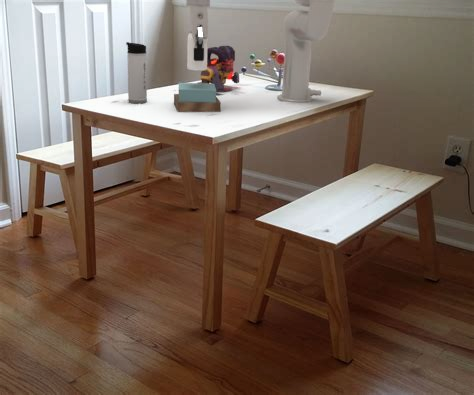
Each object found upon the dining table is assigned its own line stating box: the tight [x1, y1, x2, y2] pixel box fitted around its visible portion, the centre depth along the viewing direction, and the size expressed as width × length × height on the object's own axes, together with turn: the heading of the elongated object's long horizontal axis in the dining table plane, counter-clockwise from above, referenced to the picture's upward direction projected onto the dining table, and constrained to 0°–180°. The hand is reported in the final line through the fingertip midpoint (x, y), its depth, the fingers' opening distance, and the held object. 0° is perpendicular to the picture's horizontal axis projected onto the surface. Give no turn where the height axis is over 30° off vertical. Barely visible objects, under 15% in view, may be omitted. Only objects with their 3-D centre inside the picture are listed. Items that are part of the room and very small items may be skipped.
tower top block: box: [178, 82, 217, 103], centre depth 209 cm, size 12×12×4 cm
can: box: [186, 31, 209, 72], centre depth 204 cm, size 6×6×12 cm
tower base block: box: [173, 93, 222, 113], centre depth 211 cm, size 14×14×4 cm
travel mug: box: [125, 41, 148, 105], centre depth 213 cm, size 6×7×20 cm
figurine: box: [197, 45, 240, 93], centre depth 239 cm, size 20×14×17 cm
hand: (197, 58), depth 205 cm, fingers closed on can, 6 cm apart
